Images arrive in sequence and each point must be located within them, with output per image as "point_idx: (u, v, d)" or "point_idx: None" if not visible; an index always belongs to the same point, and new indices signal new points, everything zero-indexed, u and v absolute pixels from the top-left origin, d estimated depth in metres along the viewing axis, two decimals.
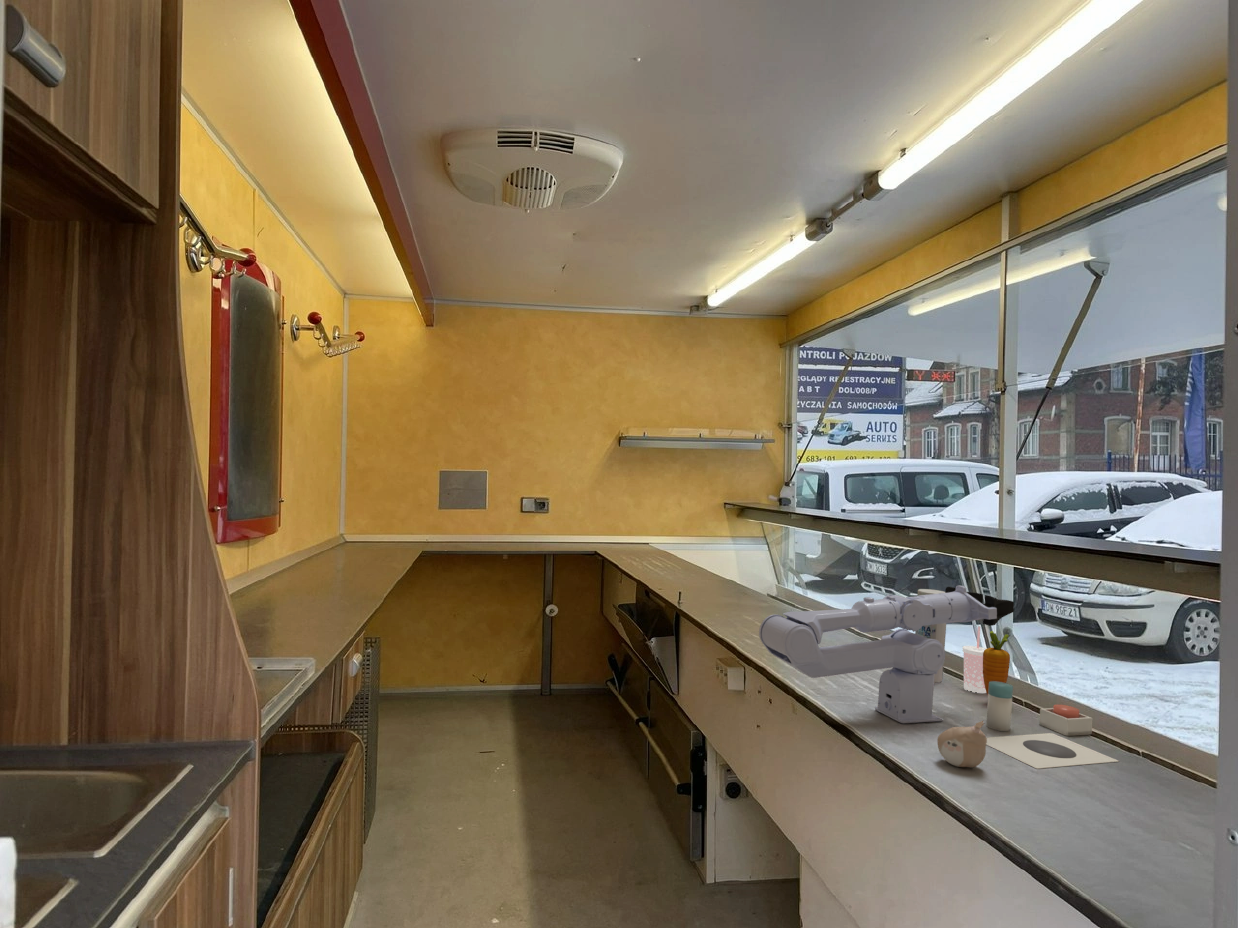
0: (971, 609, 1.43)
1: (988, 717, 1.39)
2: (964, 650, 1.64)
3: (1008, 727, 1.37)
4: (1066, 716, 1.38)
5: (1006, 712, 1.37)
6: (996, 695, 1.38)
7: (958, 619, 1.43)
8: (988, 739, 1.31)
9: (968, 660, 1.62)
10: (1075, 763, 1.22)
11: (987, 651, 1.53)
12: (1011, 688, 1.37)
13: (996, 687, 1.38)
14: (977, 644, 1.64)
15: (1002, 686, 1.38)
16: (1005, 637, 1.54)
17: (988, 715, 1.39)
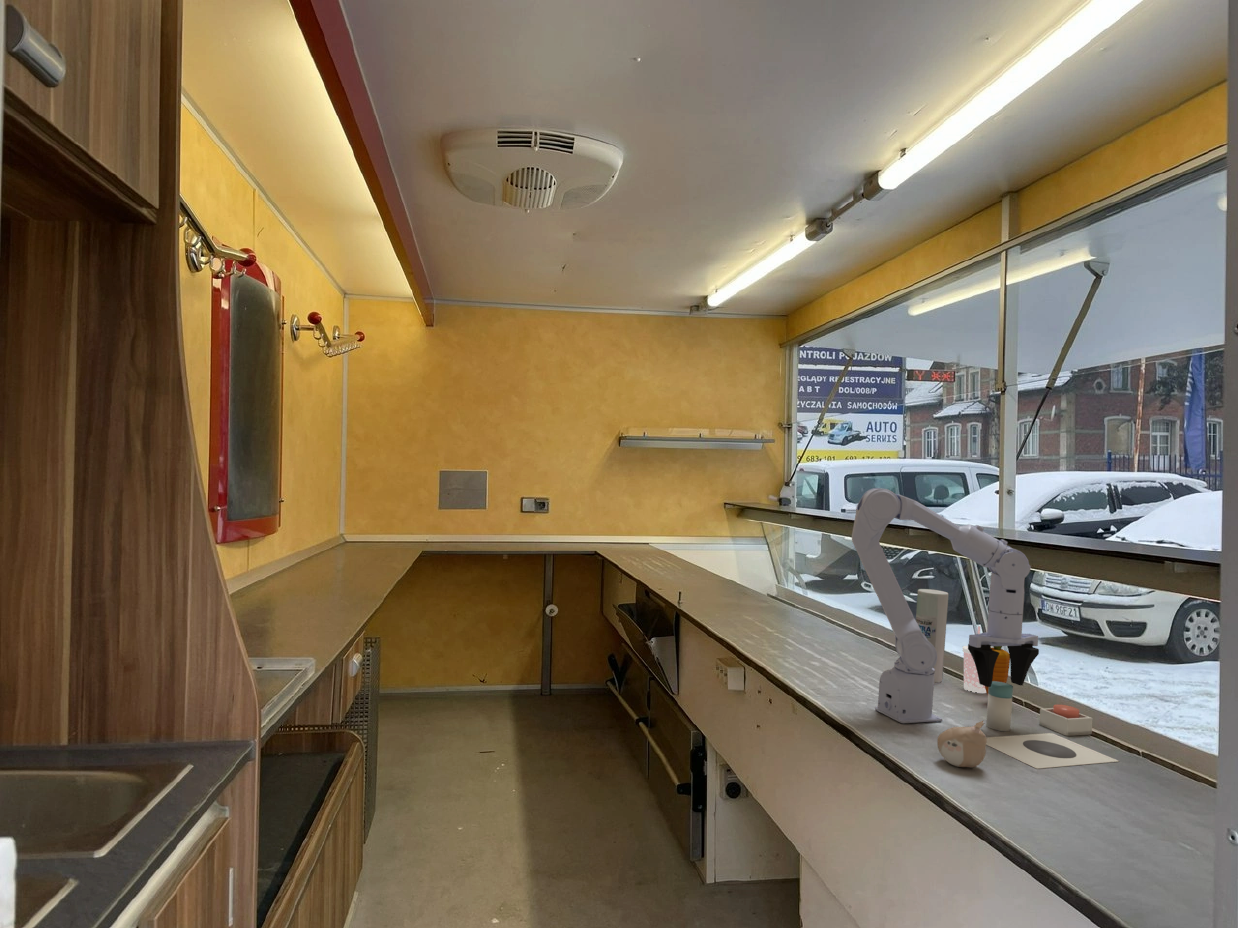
0: (991, 635, 1.38)
1: (988, 717, 1.39)
2: (964, 650, 1.64)
3: (1008, 727, 1.37)
4: (1066, 716, 1.38)
5: (1006, 712, 1.37)
6: (996, 695, 1.38)
7: None
8: (988, 739, 1.31)
9: (968, 660, 1.62)
10: (1075, 763, 1.22)
11: None
12: (1011, 688, 1.37)
13: (996, 687, 1.38)
14: None
15: (1002, 686, 1.38)
16: None
17: (988, 715, 1.39)
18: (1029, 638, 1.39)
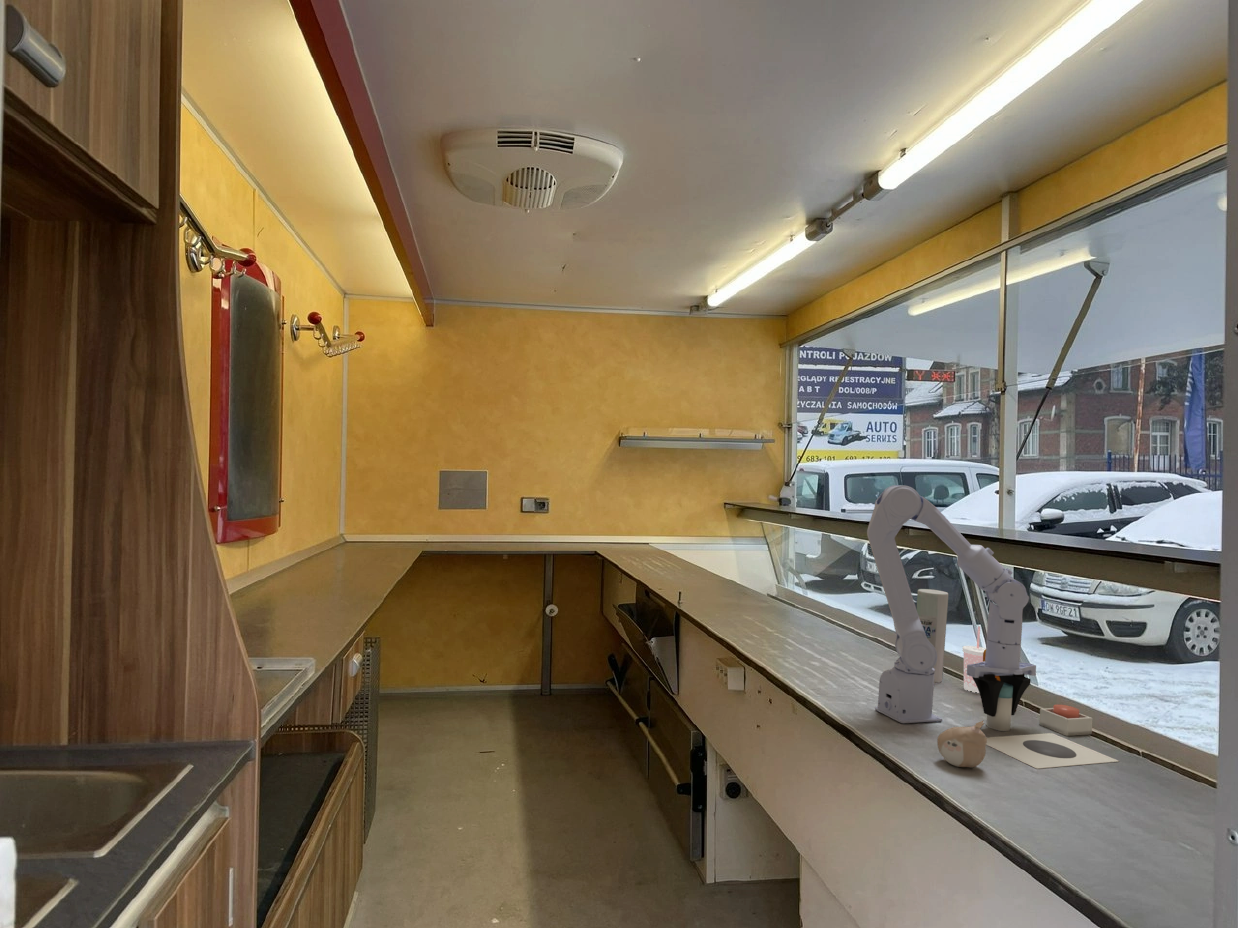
0: (989, 665, 1.38)
1: (988, 717, 1.39)
2: (964, 650, 1.64)
3: (1008, 727, 1.37)
4: (1066, 716, 1.38)
5: (1006, 712, 1.37)
6: None
7: None
8: (988, 739, 1.31)
9: (968, 660, 1.62)
10: (1075, 763, 1.22)
11: None
12: (1011, 688, 1.37)
13: None
14: (977, 644, 1.64)
15: (1002, 686, 1.38)
16: None
17: (988, 715, 1.39)
18: (1027, 668, 1.39)
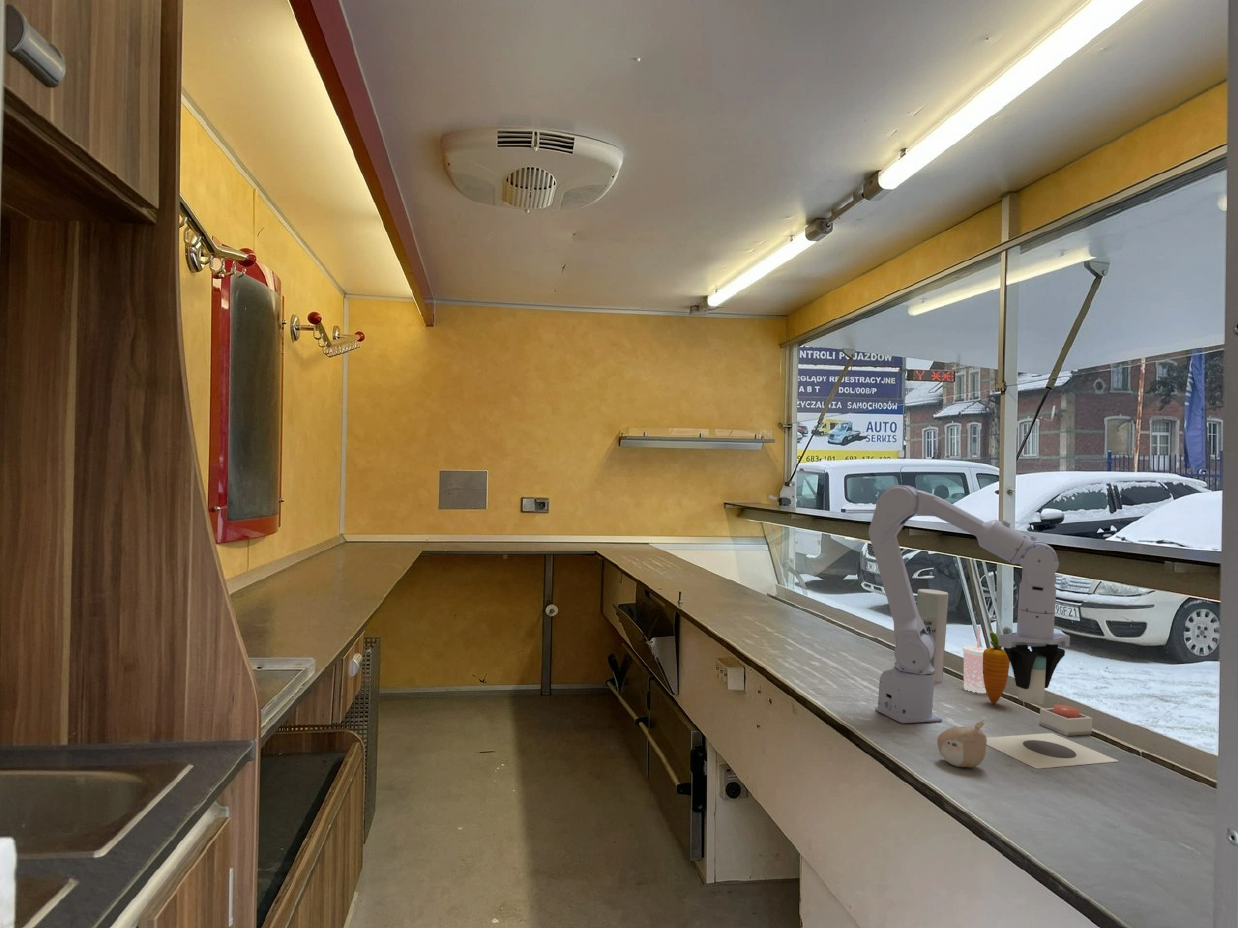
0: (1021, 635, 1.32)
1: (1020, 690, 1.33)
2: (964, 650, 1.64)
3: (1042, 700, 1.31)
4: (1066, 716, 1.38)
5: (1040, 684, 1.31)
6: None
7: (1017, 620, 1.34)
8: (988, 739, 1.31)
9: (968, 660, 1.62)
10: (1075, 763, 1.22)
11: (987, 651, 1.53)
12: (1045, 659, 1.31)
13: None
14: (977, 644, 1.64)
15: None
16: None
17: (1020, 688, 1.33)
18: (1061, 638, 1.32)
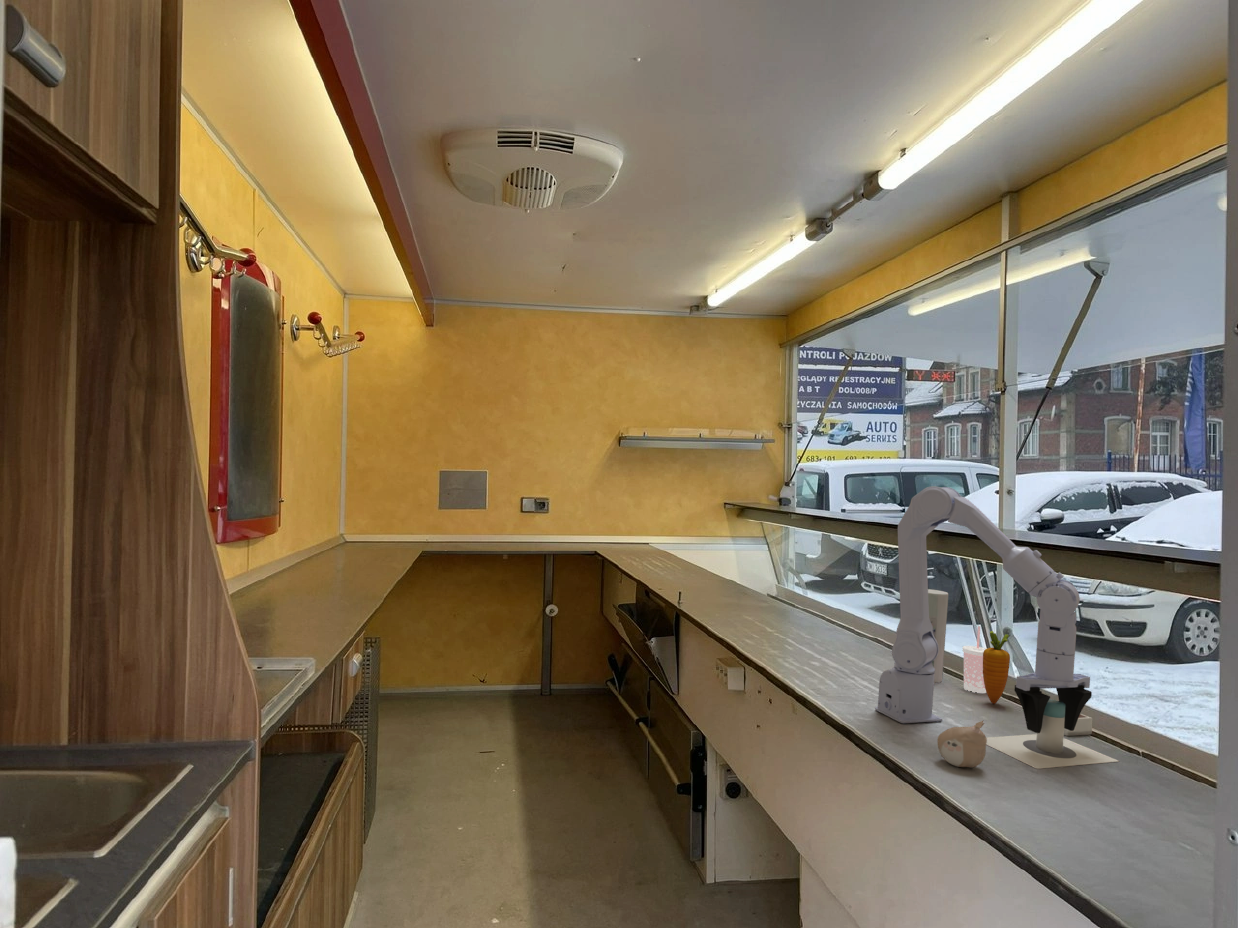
0: (1040, 677, 1.28)
1: (1038, 738, 1.28)
2: (964, 650, 1.64)
3: (1061, 749, 1.27)
4: None
5: (1059, 732, 1.27)
6: (1047, 714, 1.27)
7: None
8: (988, 739, 1.31)
9: (968, 660, 1.62)
10: (1075, 763, 1.22)
11: (987, 651, 1.53)
12: (1064, 706, 1.27)
13: (1047, 705, 1.27)
14: (977, 644, 1.64)
15: (1054, 704, 1.27)
16: (1005, 637, 1.54)
17: (1038, 735, 1.28)
18: (1081, 680, 1.28)
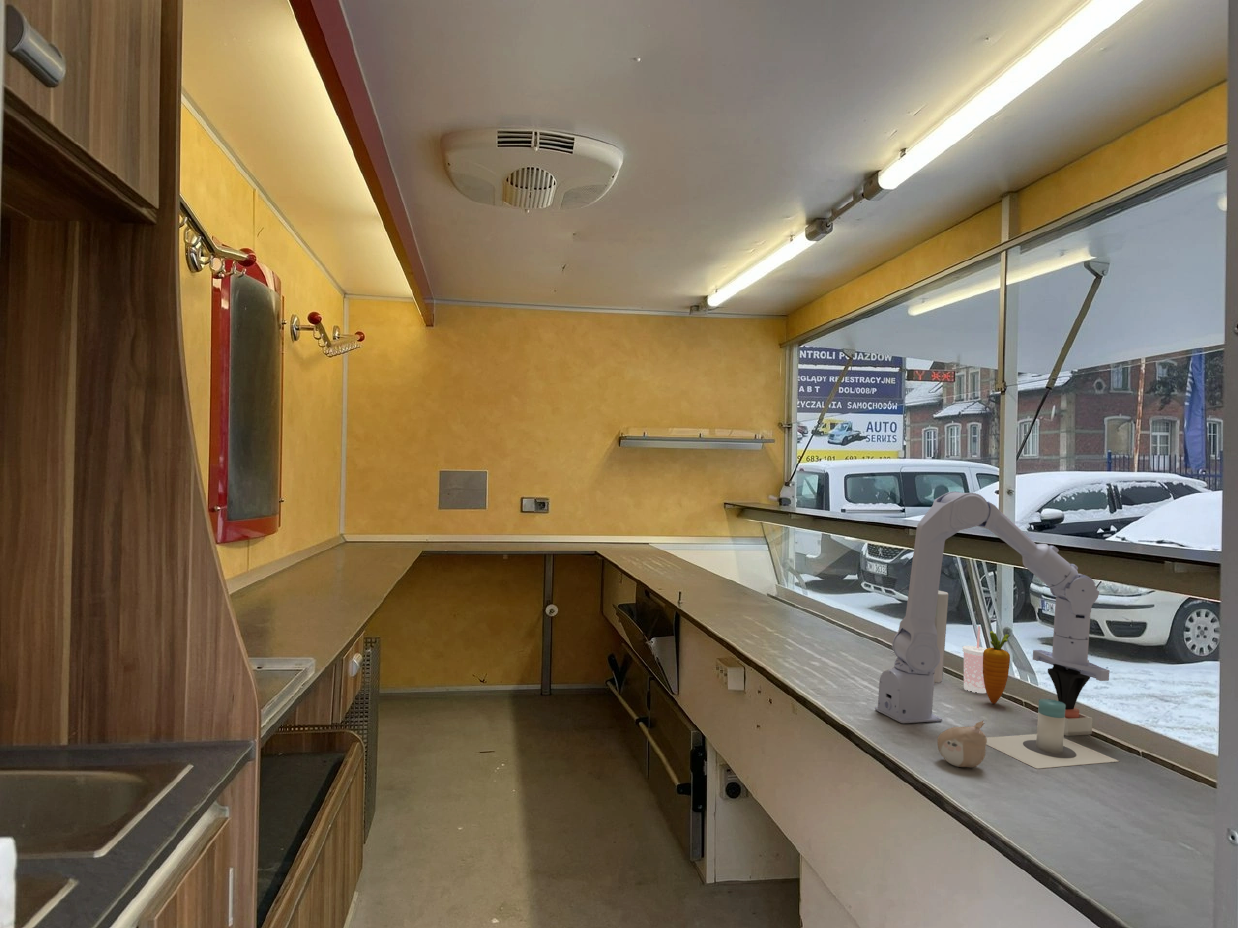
0: (1084, 663, 1.37)
1: (1038, 738, 1.28)
2: (964, 650, 1.64)
3: (1061, 749, 1.27)
4: (1066, 716, 1.38)
5: (1059, 733, 1.27)
6: (1047, 714, 1.27)
7: (1072, 650, 1.38)
8: (988, 739, 1.31)
9: (968, 660, 1.62)
10: (1075, 763, 1.22)
11: (987, 651, 1.53)
12: (1064, 707, 1.27)
13: (1047, 705, 1.27)
14: (977, 644, 1.64)
15: (1054, 704, 1.27)
16: (1005, 637, 1.54)
17: (1038, 735, 1.28)
18: None
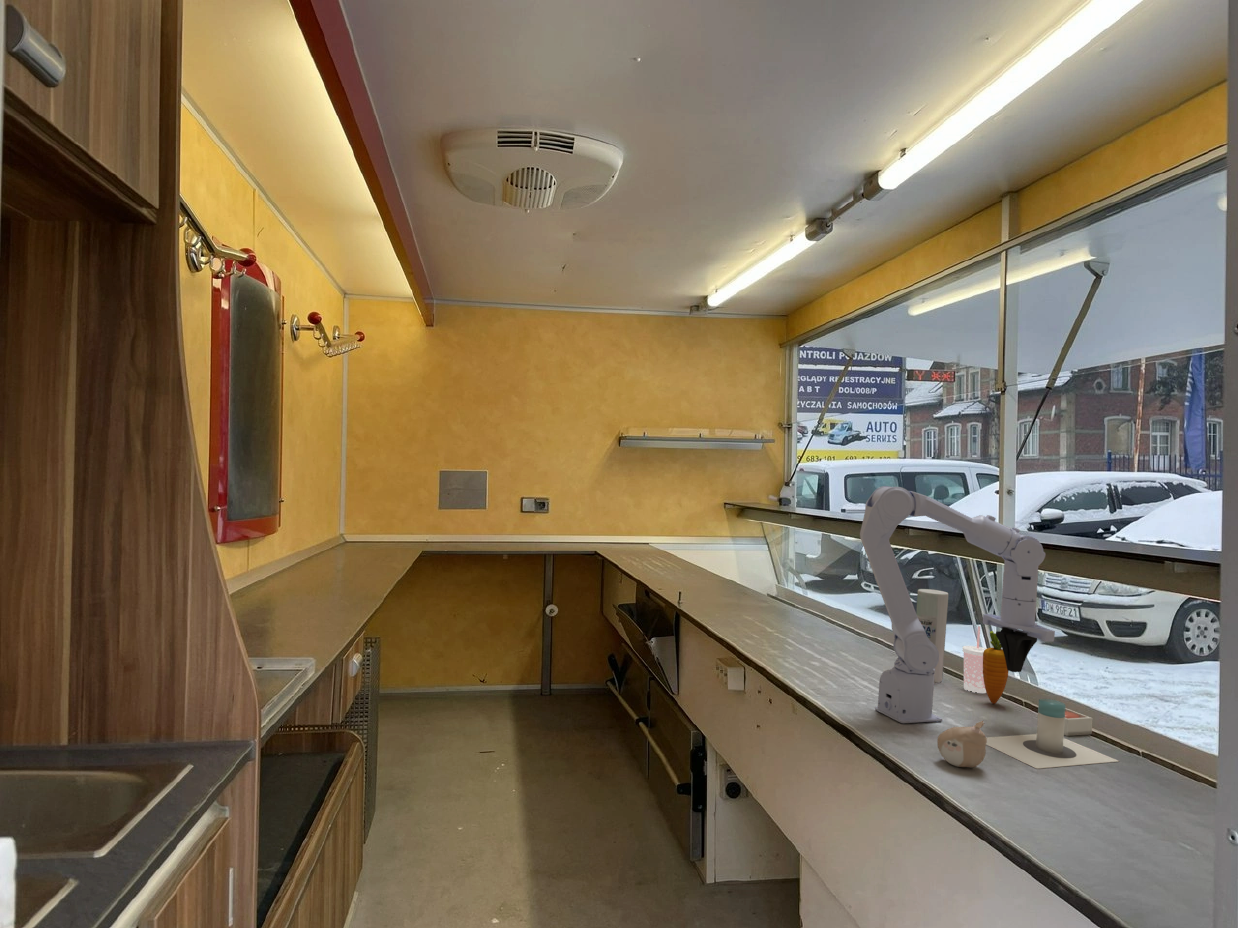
0: (1030, 625, 1.37)
1: (1038, 738, 1.28)
2: (964, 650, 1.64)
3: (1061, 749, 1.27)
4: None
5: (1059, 733, 1.27)
6: (1047, 714, 1.27)
7: (1019, 612, 1.37)
8: (988, 739, 1.31)
9: (968, 660, 1.62)
10: (1075, 763, 1.22)
11: (987, 651, 1.53)
12: (1064, 706, 1.27)
13: (1047, 705, 1.27)
14: (977, 644, 1.64)
15: (1054, 704, 1.27)
16: None
17: (1038, 735, 1.28)
18: None
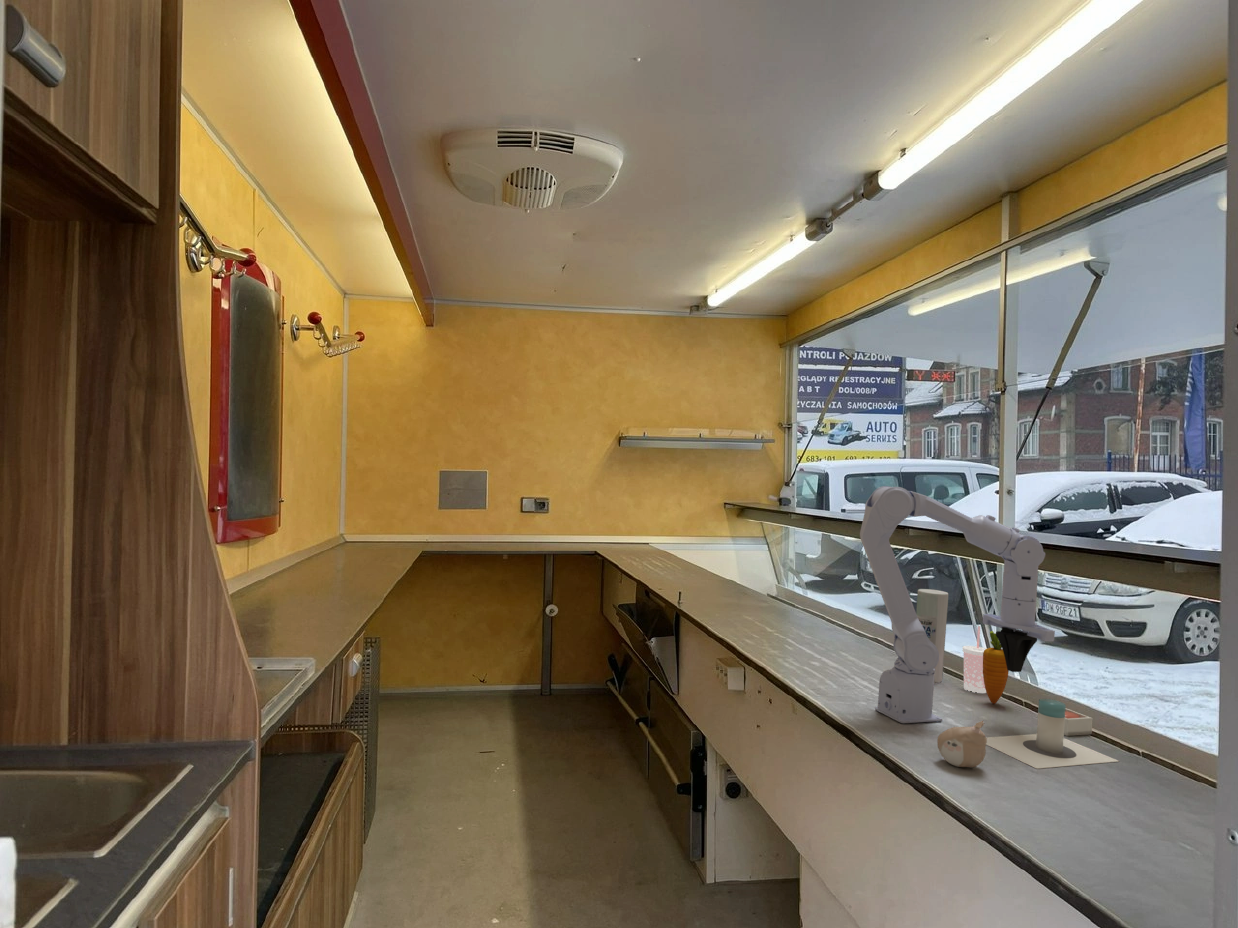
0: (1030, 625, 1.37)
1: (1038, 738, 1.28)
2: (964, 650, 1.64)
3: (1061, 749, 1.27)
4: None
5: (1059, 733, 1.27)
6: (1047, 714, 1.27)
7: (1019, 612, 1.37)
8: (988, 739, 1.31)
9: (968, 660, 1.62)
10: (1075, 763, 1.22)
11: (987, 651, 1.53)
12: (1064, 707, 1.27)
13: (1047, 705, 1.27)
14: (977, 644, 1.64)
15: (1054, 704, 1.27)
16: None
17: (1038, 735, 1.28)
18: None
